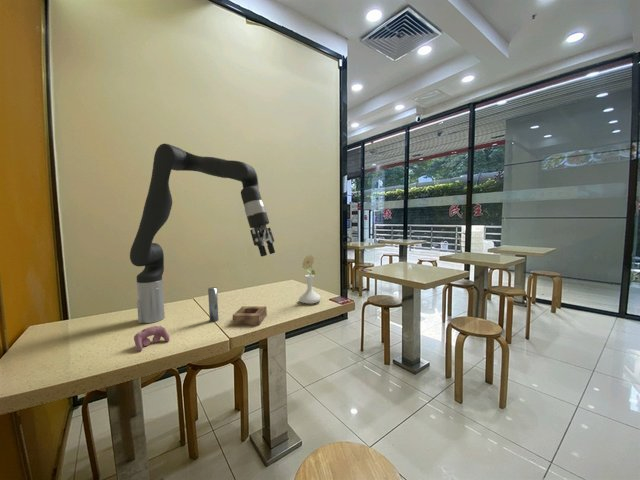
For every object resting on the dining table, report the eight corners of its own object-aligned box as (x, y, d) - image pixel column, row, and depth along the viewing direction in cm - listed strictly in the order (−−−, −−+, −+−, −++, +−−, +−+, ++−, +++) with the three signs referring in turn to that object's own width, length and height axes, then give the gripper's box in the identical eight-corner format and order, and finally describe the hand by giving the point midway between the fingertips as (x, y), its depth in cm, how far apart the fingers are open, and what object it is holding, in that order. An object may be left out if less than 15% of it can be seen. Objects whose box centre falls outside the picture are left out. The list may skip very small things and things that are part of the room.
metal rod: (209, 322, 109) (208, 289, 108) (209, 319, 112) (207, 287, 111) (218, 321, 111) (217, 288, 110) (218, 318, 114) (216, 286, 113)
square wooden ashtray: (232, 324, 106) (232, 315, 106) (242, 315, 117) (242, 306, 117) (259, 325, 105) (259, 315, 105) (266, 315, 116) (266, 306, 116)
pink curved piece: (167, 342, 95) (162, 324, 96) (171, 340, 92) (166, 321, 94) (135, 353, 87) (130, 333, 89) (138, 351, 85) (134, 330, 86)
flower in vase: (296, 300, 138) (295, 253, 136) (317, 297, 141) (316, 252, 139) (302, 307, 125) (301, 256, 123) (325, 305, 129) (324, 255, 127)
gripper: (255, 217, 107) (266, 255, 107) (238, 216, 93) (251, 259, 93) (272, 212, 106) (283, 250, 106) (257, 209, 92) (270, 254, 92)
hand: (268, 254), depth 99 cm, fingers open, 8 cm apart
